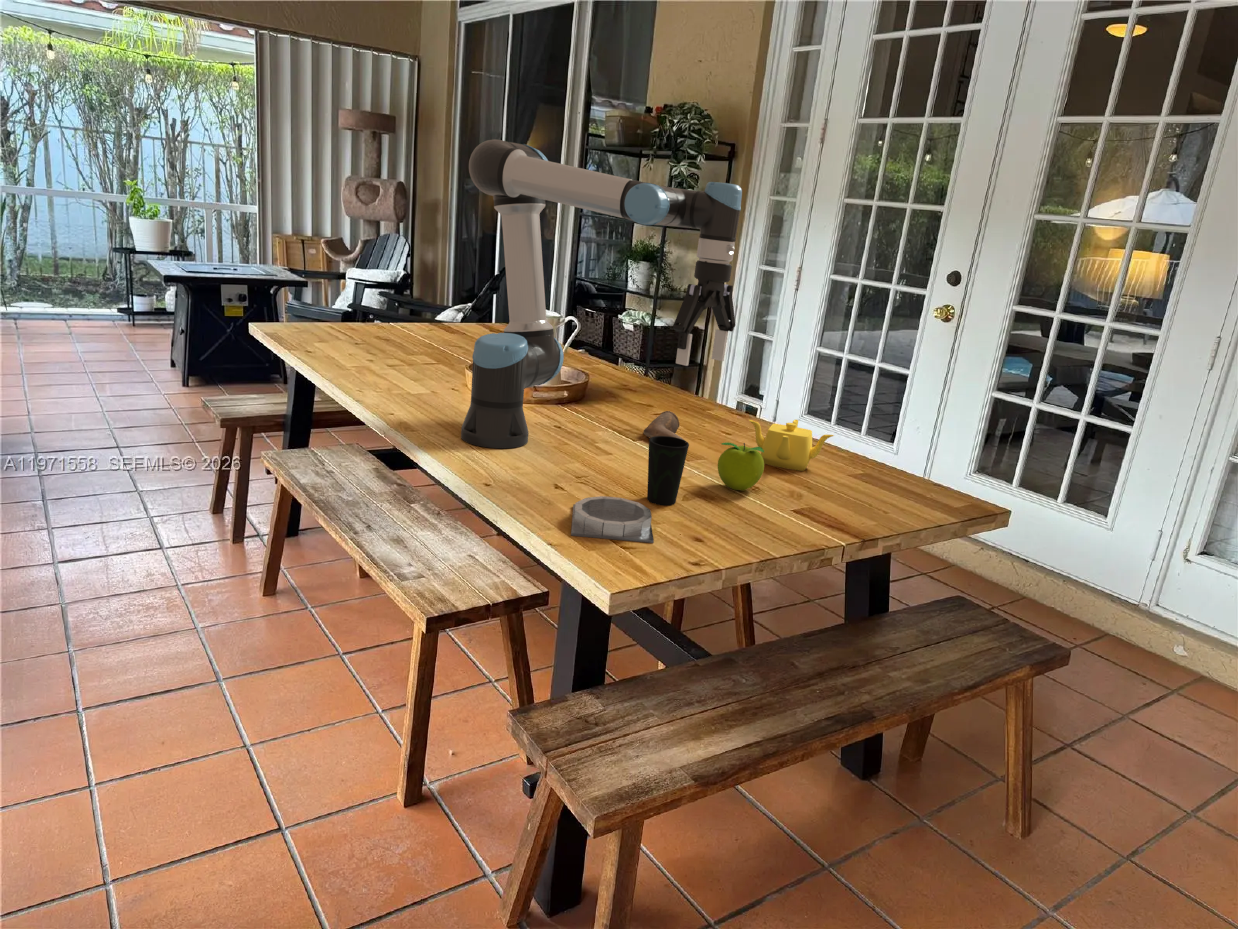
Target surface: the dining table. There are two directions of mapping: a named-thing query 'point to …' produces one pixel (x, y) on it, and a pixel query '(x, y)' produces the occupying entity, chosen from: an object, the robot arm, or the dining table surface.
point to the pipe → (663, 426)
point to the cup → (665, 468)
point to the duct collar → (612, 519)
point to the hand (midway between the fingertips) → (700, 362)
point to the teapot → (788, 445)
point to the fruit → (740, 466)
